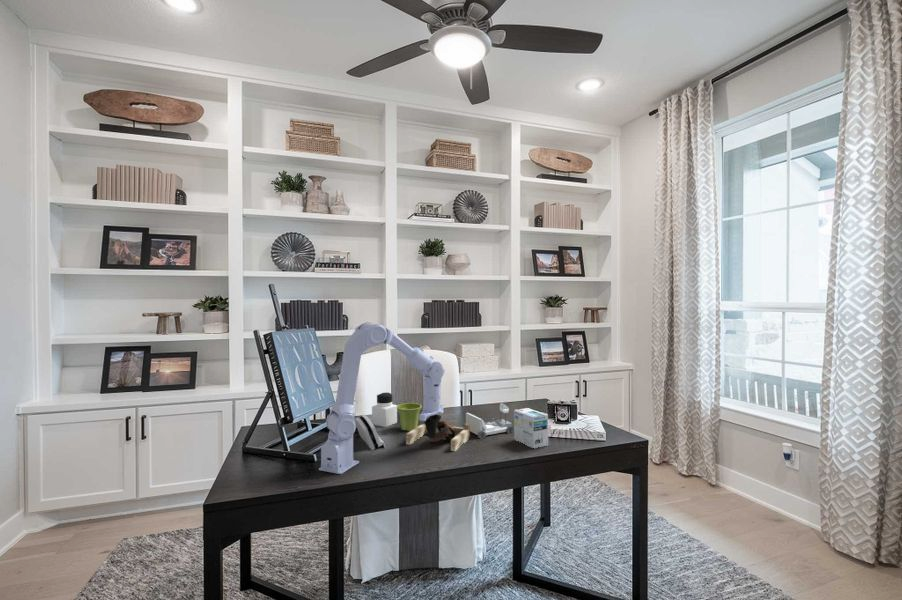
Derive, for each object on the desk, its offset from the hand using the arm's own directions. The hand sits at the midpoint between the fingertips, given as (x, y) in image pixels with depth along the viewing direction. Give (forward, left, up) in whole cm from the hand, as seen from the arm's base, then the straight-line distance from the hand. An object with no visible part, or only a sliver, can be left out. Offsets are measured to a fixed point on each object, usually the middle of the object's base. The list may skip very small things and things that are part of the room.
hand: (431, 437), depth 150 cm
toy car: (+25, -13, -4) cm, 28 cm away
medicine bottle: (+17, +28, -4) cm, 33 cm away
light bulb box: (+17, -30, -4) cm, 34 cm away
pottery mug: (+6, -1, -4) cm, 7 cm away
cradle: (+6, 0, -3) cm, 7 cm away
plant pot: (+15, +16, -4) cm, 22 cm away
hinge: (-4, +22, -4) cm, 23 cm away
